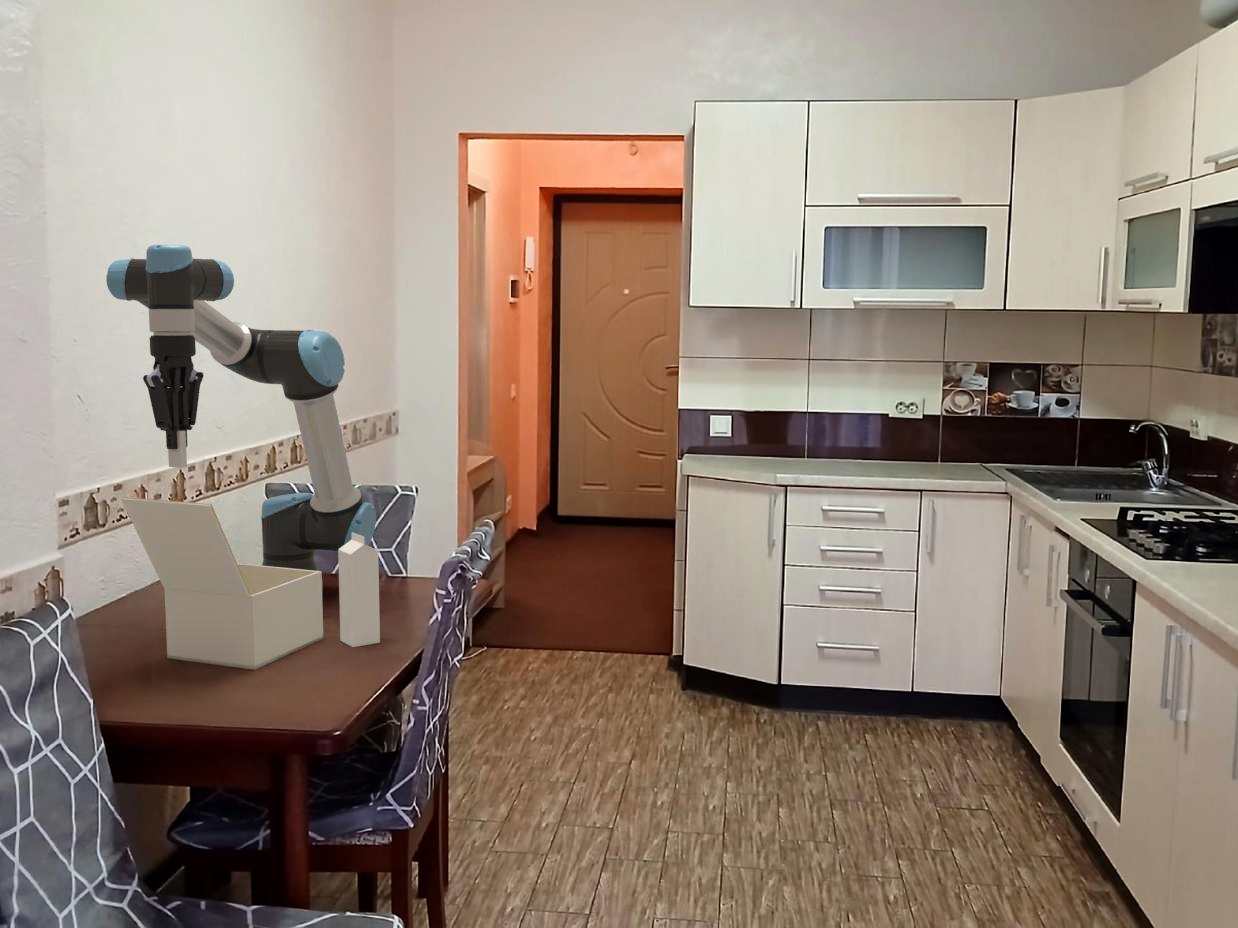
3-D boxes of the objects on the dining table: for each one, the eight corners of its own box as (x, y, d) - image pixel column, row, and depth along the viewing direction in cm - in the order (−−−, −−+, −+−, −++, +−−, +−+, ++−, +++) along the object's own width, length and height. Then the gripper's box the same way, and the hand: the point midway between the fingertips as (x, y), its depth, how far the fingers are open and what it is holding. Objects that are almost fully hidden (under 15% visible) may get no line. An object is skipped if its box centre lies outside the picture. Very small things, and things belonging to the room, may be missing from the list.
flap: (123, 497, 209) (121, 499, 208) (211, 503, 202) (209, 505, 202) (165, 585, 220) (163, 587, 220) (250, 594, 214) (248, 596, 213)
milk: (352, 647, 230) (349, 538, 227) (339, 640, 235) (336, 533, 232) (380, 642, 234) (378, 535, 231) (367, 635, 239) (365, 530, 236)
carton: (241, 628, 243) (238, 563, 241) (323, 638, 236) (321, 571, 234) (167, 658, 222) (164, 586, 221) (255, 669, 216) (252, 595, 214)
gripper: (180, 333, 212) (185, 461, 215) (128, 334, 200) (134, 470, 203) (214, 333, 210) (219, 463, 213) (163, 335, 197) (169, 472, 201)
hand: (177, 466), depth 208 cm, fingers closed
